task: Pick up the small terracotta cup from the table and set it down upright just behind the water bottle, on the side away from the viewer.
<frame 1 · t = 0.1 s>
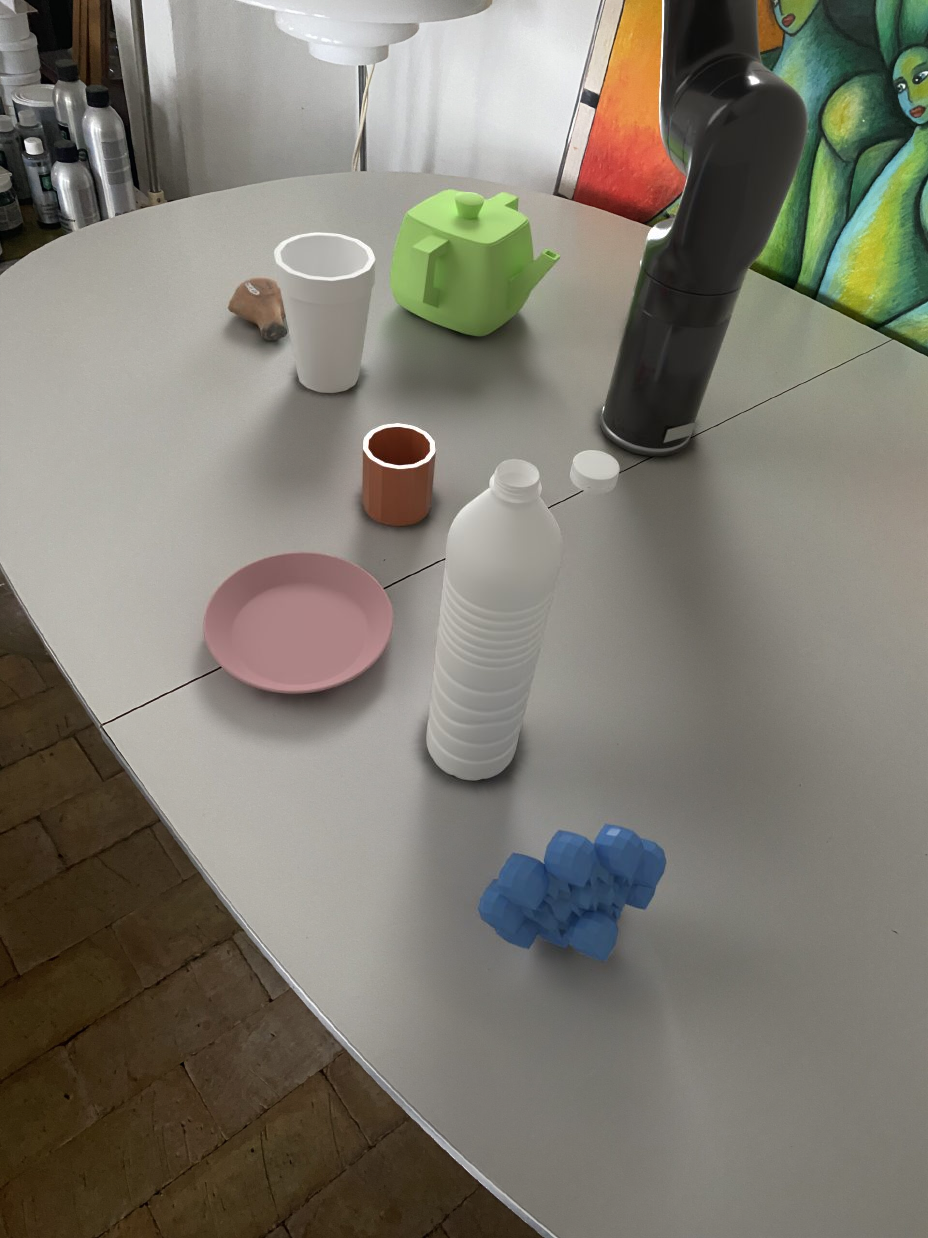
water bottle: (485, 742, 63), on the table
grapes: (561, 945, 54), on the table
teapot: (473, 316, 103), on the table
foam cup: (328, 377, 92), on the table
plate: (301, 635, 68), on the table
terracotta cup: (396, 503, 79), on the table
oil lamp: (265, 323, 97), on the table
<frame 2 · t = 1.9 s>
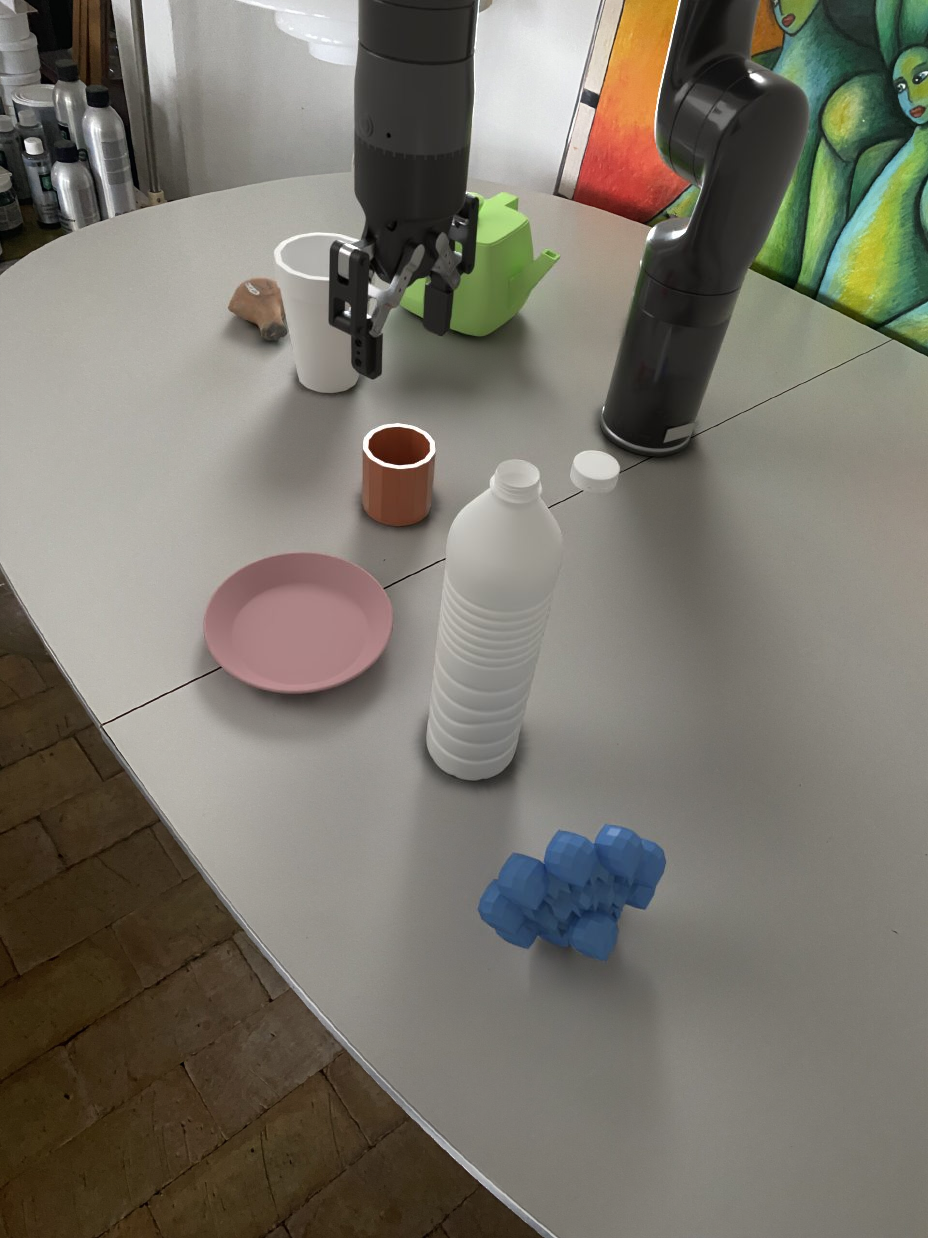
hand: (403, 351, 68), 16 cm above the table, tool pointing down, fingers open, 8 cm apart
nothing on the table moved.
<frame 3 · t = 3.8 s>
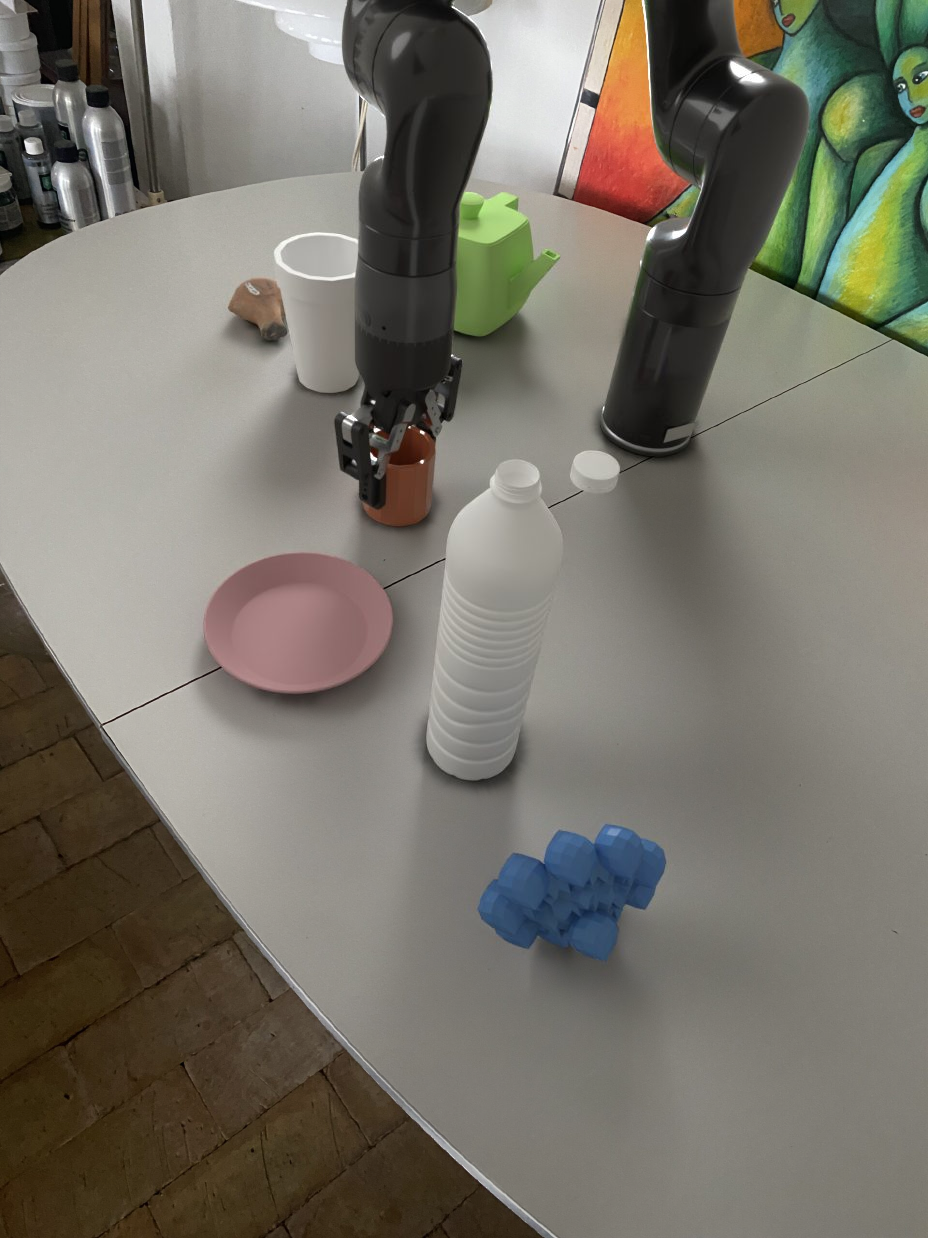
hand: (397, 484, 78), 2 cm above the table, tool pointing down, fingers closed on terracotta cup, 6 cm apart
terracotta cup: (396, 503, 79), on the table, touching gripper
everything else where it was.
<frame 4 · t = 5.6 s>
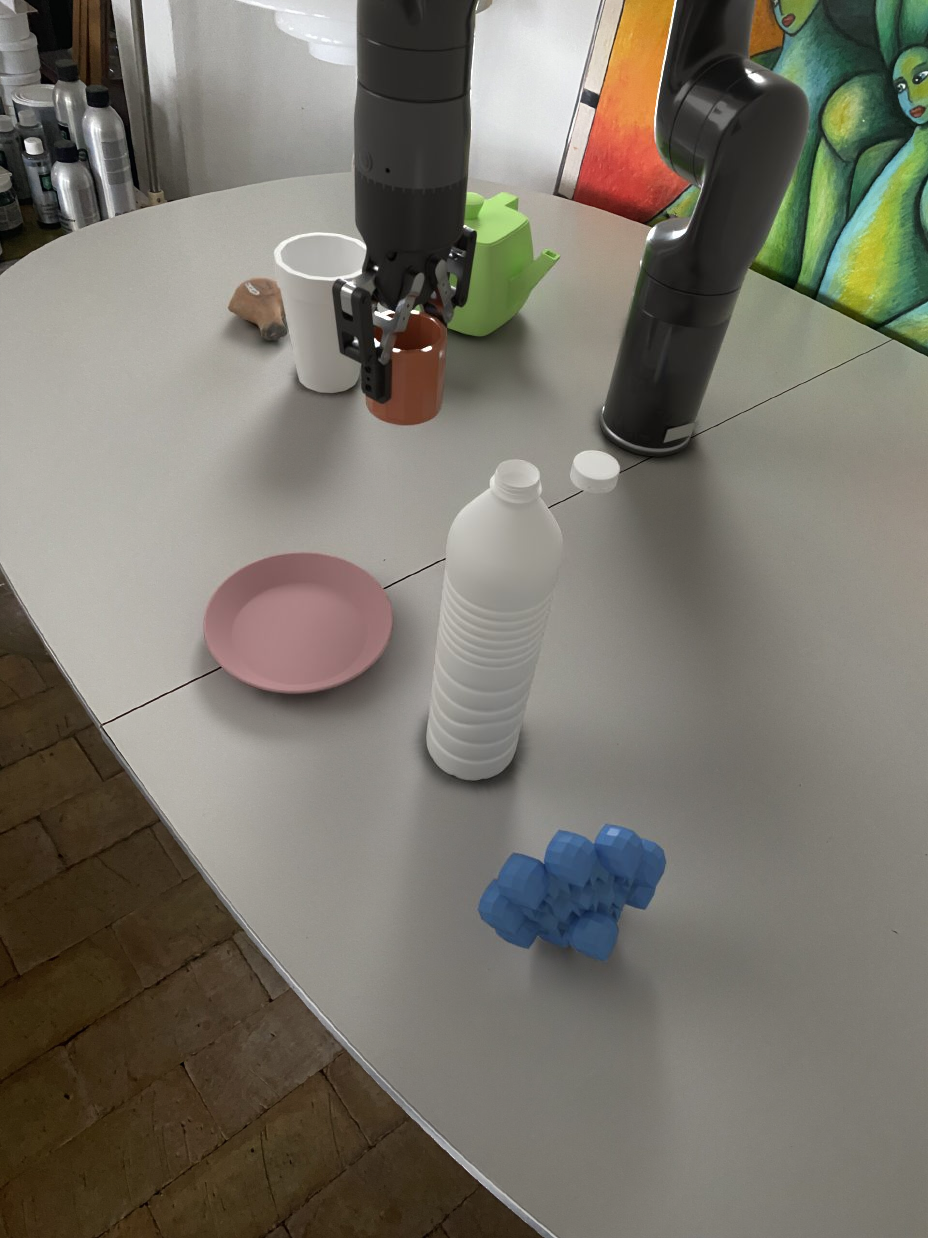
hand: (404, 378, 69), 13 cm above the table, tool pointing down, fingers closed on terracotta cup, 6 cm apart
terracotta cup: (403, 402, 71), point 11 cm above the table, touching gripper
everything else where it was.
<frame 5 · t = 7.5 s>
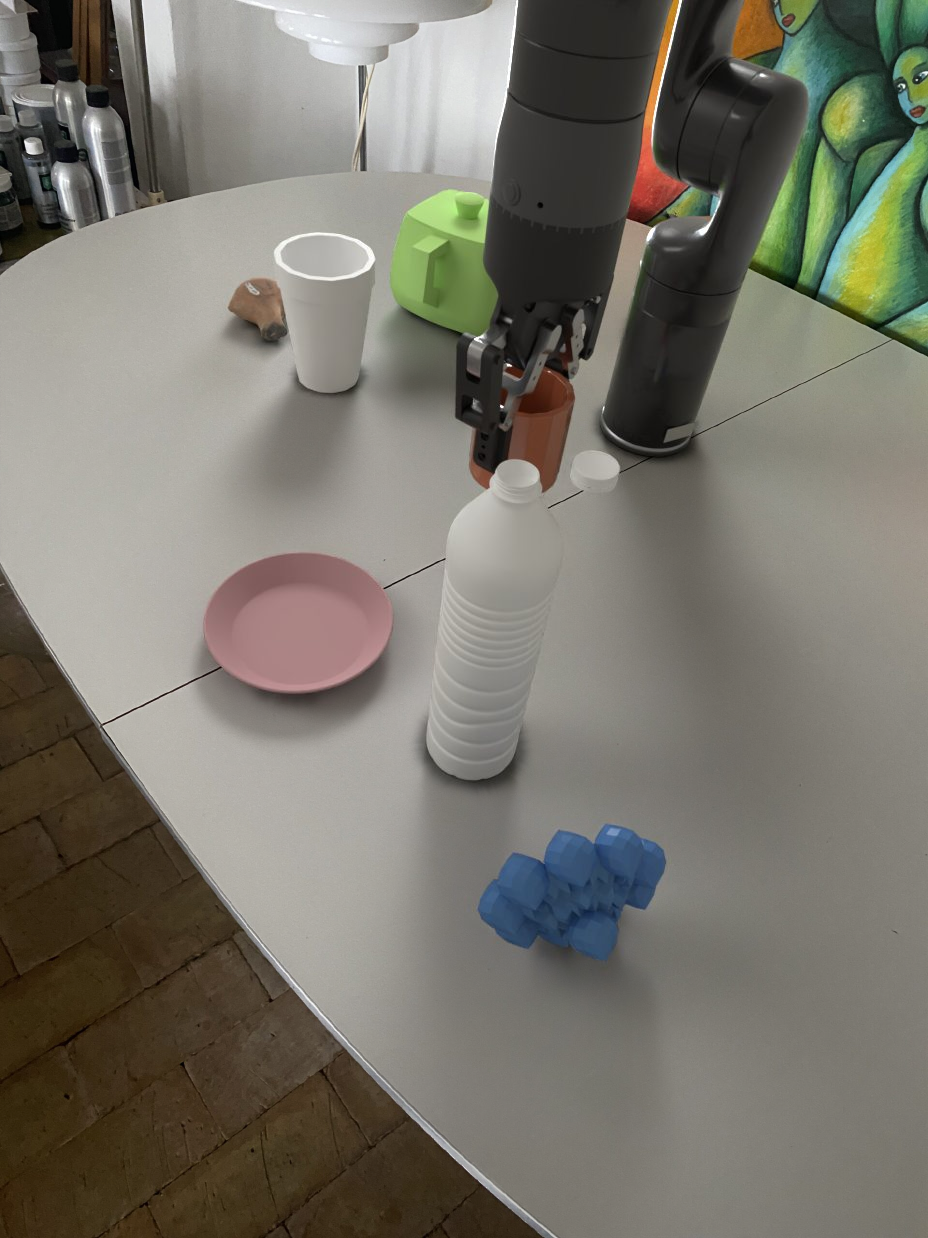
hand: (517, 443, 59), 17 cm above the table, tool pointing down, fingers closed on terracotta cup, 6 cm apart
terracotta cup: (513, 468, 61), point 15 cm above the table, touching gripper
everything else where it was.
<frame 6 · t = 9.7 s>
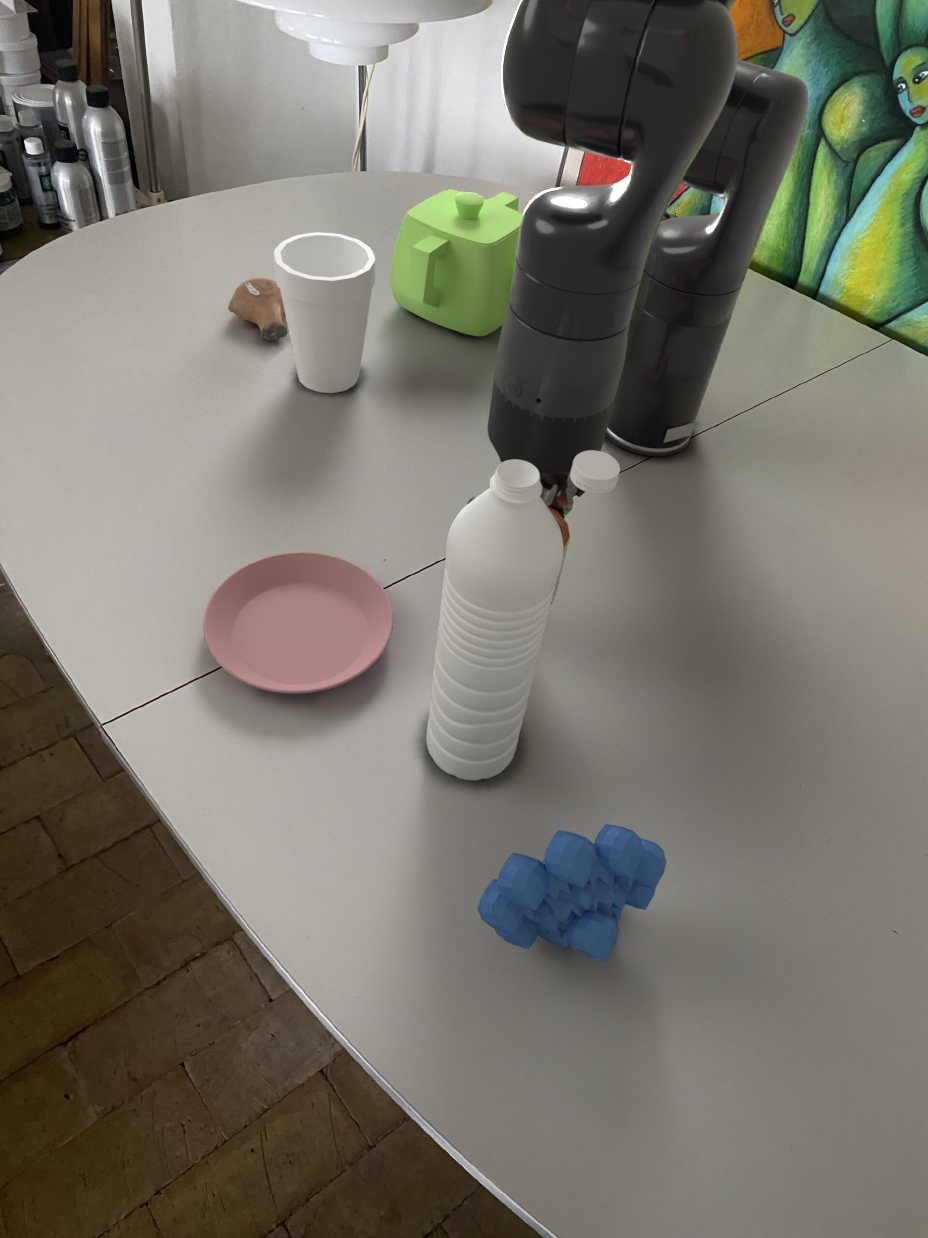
hand: (518, 570, 65), 7 cm above the table, tool pointing down, fingers closed on terracotta cup, 6 cm apart
terracotta cup: (513, 590, 67), point 5 cm above the table, touching gripper
everything else where it was.
when the fingers open (2 cm above the table, at t = 11.4 s): terracotta cup stays where it is, on the table.
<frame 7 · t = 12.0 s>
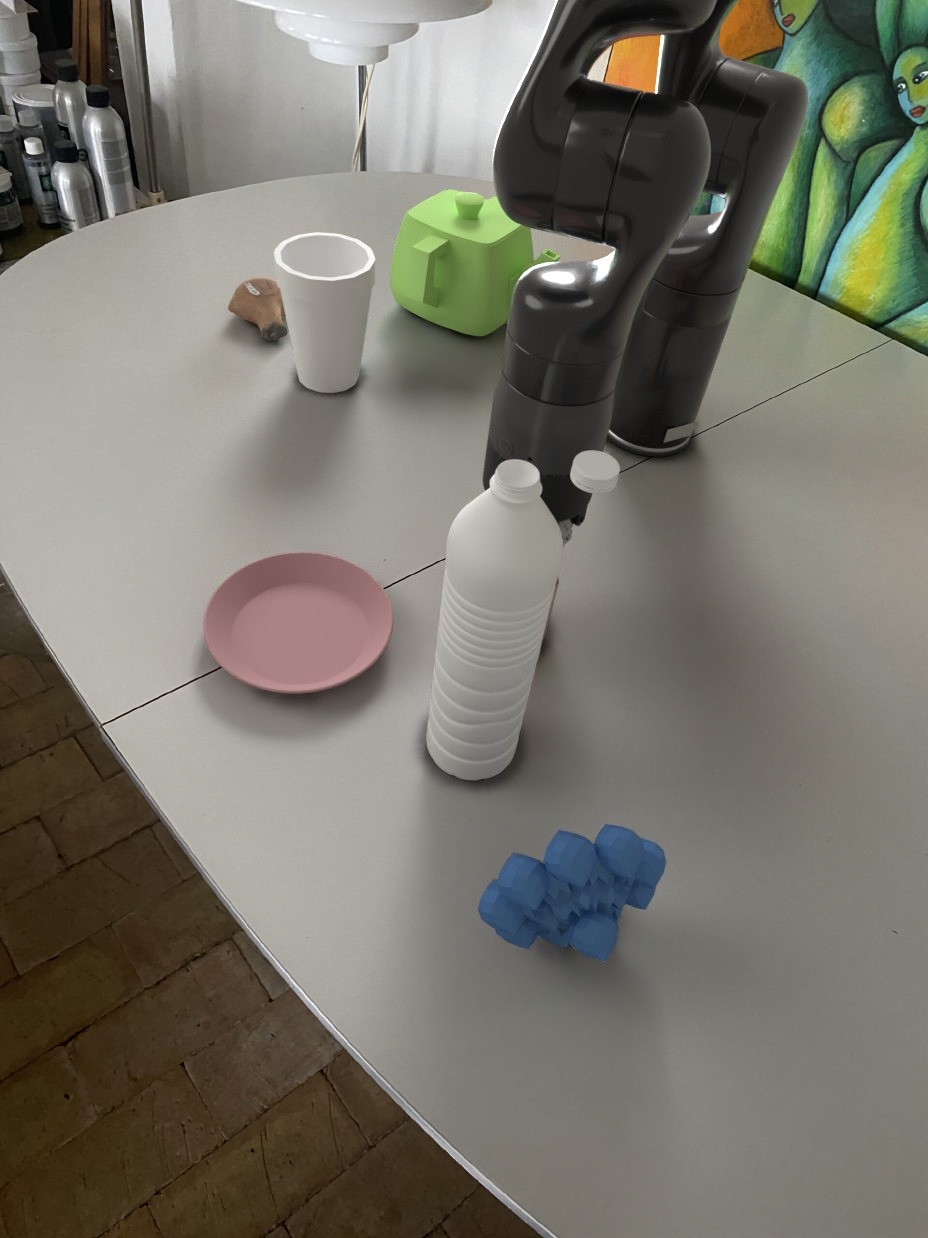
hand: (514, 602, 68), 3 cm above the table, tool pointing down, fingers open, 8 cm apart
terracotta cup: (506, 629, 70), on the table
everything else where it was.
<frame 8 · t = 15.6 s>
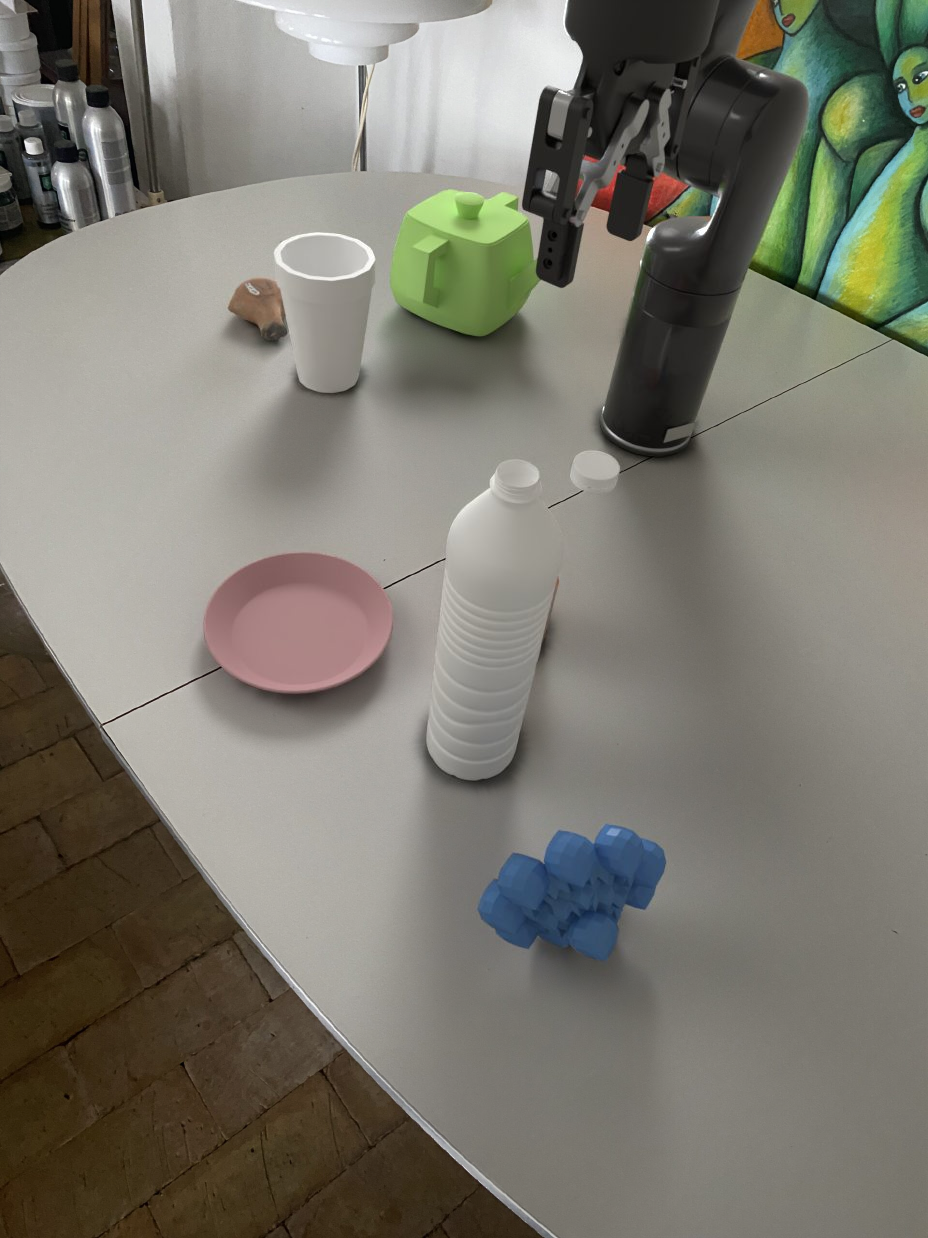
hand: (589, 257, 54), 28 cm above the table, tool pointing down, fingers open, 8 cm apart
nothing on the table moved.
at the end: terracotta cup tilted 0°; the gripper is holding nothing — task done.
